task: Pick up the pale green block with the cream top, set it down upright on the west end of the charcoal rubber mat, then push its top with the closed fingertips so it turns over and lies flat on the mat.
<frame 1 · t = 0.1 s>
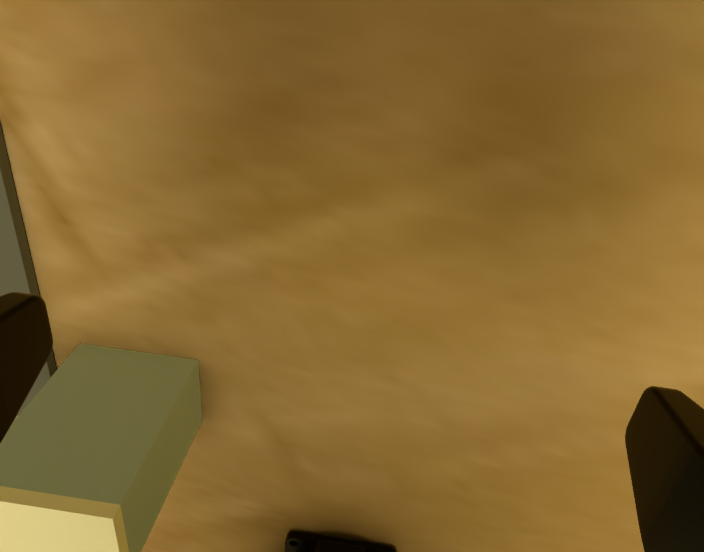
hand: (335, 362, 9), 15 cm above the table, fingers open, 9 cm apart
pale green block: (142, 382, 30), on the table
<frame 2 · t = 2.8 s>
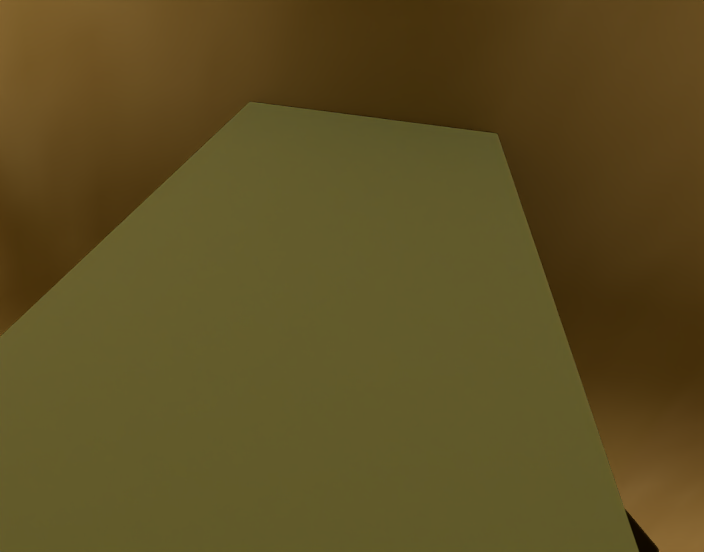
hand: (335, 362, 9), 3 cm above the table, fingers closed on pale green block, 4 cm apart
pale green block: (353, 276, 11), on the table, touching gripper
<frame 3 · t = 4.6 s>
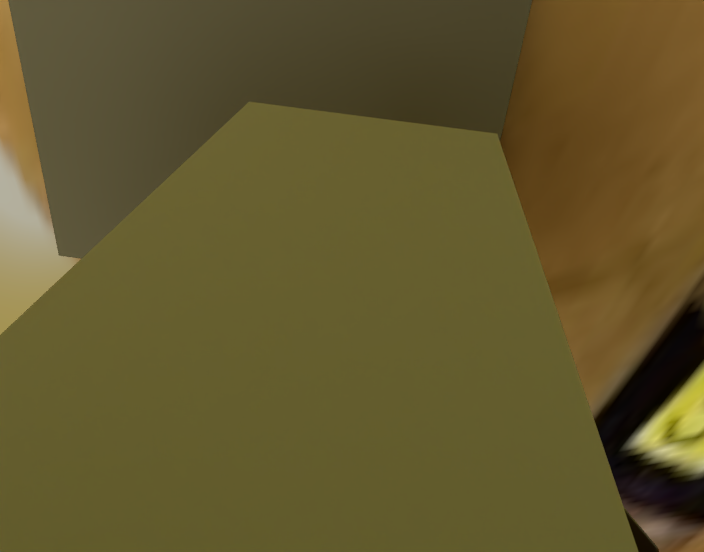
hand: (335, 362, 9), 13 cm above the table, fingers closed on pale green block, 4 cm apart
pale green block: (353, 277, 11), point 10 cm above the table, touching gripper
mat: (261, 113, 20), on the table
when the fingers open (4 cm above the table, at t = 6.5 s): pale green block drops 1 cm, resting on mat.
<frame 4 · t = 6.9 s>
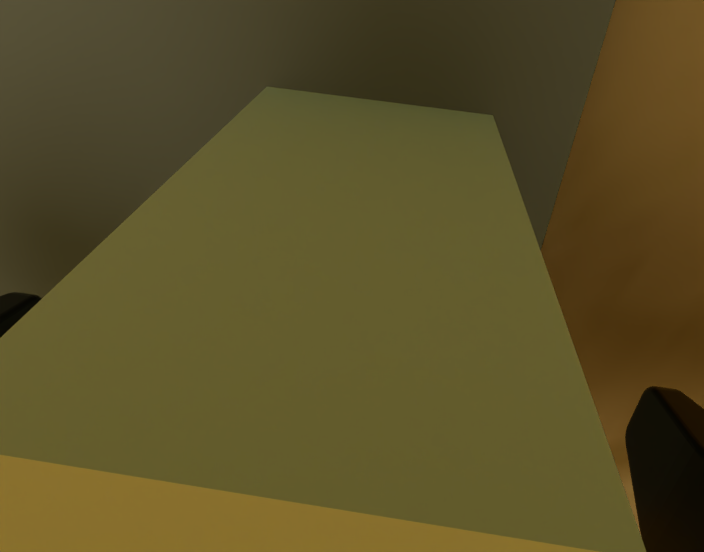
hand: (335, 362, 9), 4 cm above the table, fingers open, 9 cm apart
pale green block: (361, 250, 12), point 1 cm above the table, touching mat
mat: (154, 209, 13), on the table
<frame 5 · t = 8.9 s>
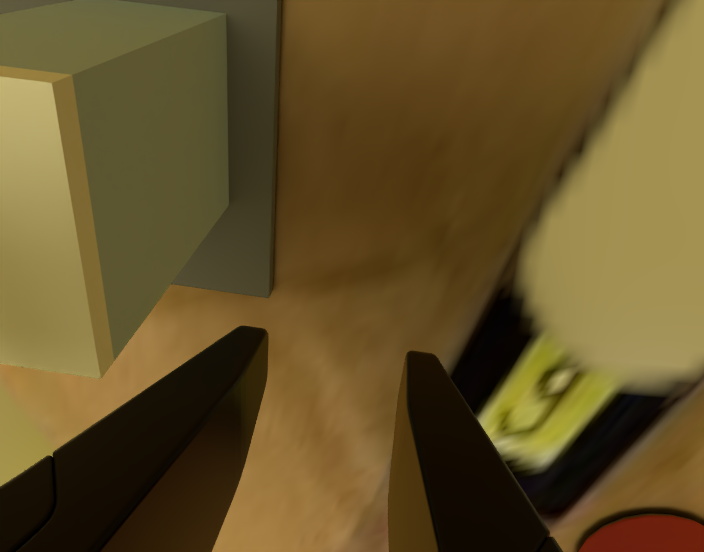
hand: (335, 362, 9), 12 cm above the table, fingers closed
pale green block: (165, 109, 18), point 1 cm above the table, touching mat
mat: (37, 88, 19), on the table
beer can: (645, 548, 27), on the table
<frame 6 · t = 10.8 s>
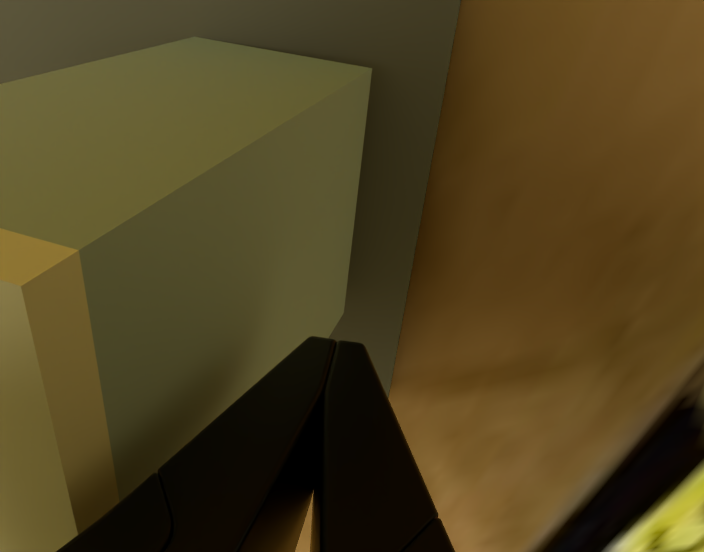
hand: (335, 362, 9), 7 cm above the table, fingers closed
pale green block: (275, 186, 14), point 1 cm above the table, tilted 12°, touching mat
mat: (109, 147, 15), on the table
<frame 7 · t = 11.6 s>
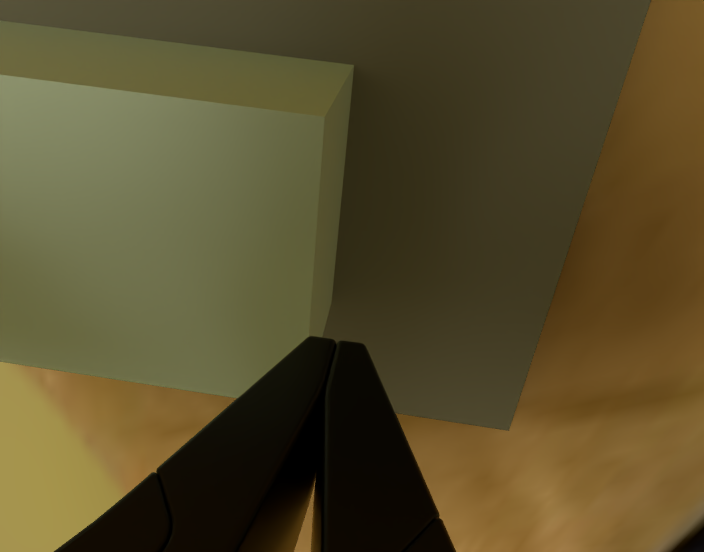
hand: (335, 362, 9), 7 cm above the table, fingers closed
pale green block: (329, 234, 12), point 3 cm above the table, tilted 90°, touching mat
mat: (244, 175, 14), on the table
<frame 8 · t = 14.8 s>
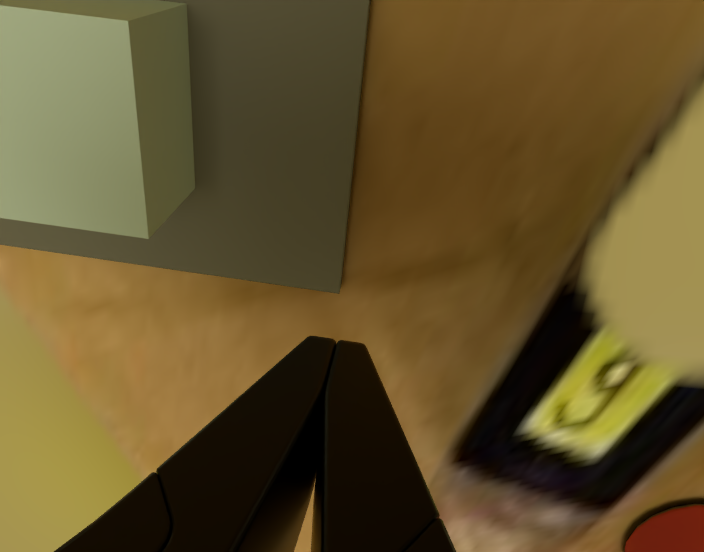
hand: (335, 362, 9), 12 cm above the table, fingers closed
pale green block: (167, 120, 17), point 3 cm above the table, tilted 90°, touching mat
mat: (125, 90, 20), on the table
beer can: (691, 538, 28), on the table
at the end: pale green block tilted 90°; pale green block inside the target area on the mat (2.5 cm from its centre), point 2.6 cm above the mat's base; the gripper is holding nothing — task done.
